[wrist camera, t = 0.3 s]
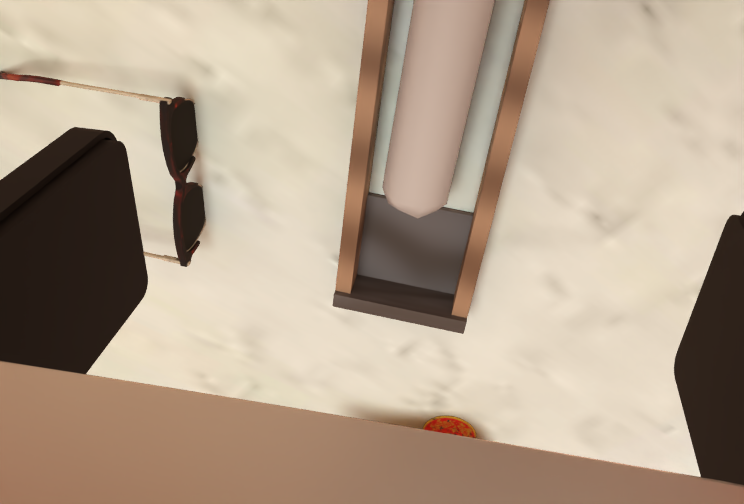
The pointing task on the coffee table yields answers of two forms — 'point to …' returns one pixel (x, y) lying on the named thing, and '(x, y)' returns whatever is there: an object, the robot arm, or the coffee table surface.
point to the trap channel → (433, 231)
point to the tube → (434, 101)
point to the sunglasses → (179, 160)
